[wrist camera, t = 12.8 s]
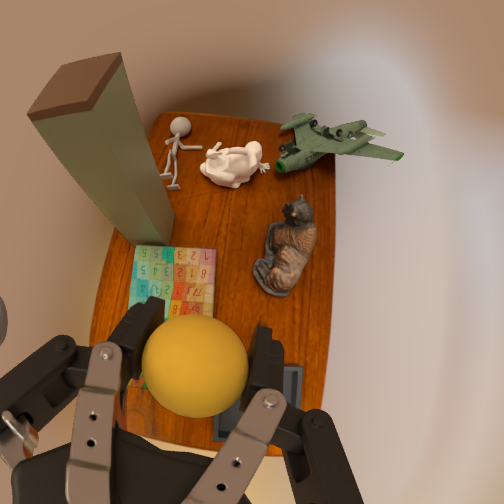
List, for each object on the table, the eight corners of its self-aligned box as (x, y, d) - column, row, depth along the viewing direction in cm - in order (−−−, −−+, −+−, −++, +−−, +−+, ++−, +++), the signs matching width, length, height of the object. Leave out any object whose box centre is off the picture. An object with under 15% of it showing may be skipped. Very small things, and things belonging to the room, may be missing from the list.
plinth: (133, 247, 41) (26, 114, 12) (140, 213, 43) (61, 65, 14) (169, 250, 41) (87, 100, 13) (175, 214, 43) (120, 51, 15)
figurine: (186, 167, 38) (197, 103, 43) (149, 172, 39) (166, 109, 44) (198, 189, 44) (206, 126, 49) (164, 192, 45) (177, 130, 50)
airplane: (265, 149, 41) (274, 197, 48) (413, 159, 33) (403, 209, 41) (291, 98, 54) (297, 135, 62) (393, 103, 47) (391, 142, 54)
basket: (214, 432, 33) (212, 441, 30) (217, 360, 37) (216, 363, 33) (291, 434, 34) (297, 442, 30) (296, 364, 38) (303, 366, 34)
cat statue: (292, 302, 40) (312, 291, 31) (246, 290, 40) (252, 274, 31) (308, 230, 44) (329, 201, 35) (267, 218, 44) (277, 185, 35)
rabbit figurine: (270, 164, 47) (279, 127, 38) (270, 201, 45) (280, 167, 36) (202, 160, 46) (198, 123, 37) (197, 197, 44) (191, 162, 35)
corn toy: (171, 383, 18) (120, 424, 8) (176, 317, 19) (127, 295, 9) (239, 390, 18) (255, 441, 8) (243, 324, 20) (264, 309, 10)
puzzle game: (216, 246, 37) (209, 397, 31) (217, 256, 42) (211, 390, 35) (134, 242, 36) (122, 386, 30) (143, 252, 41) (133, 381, 35)
